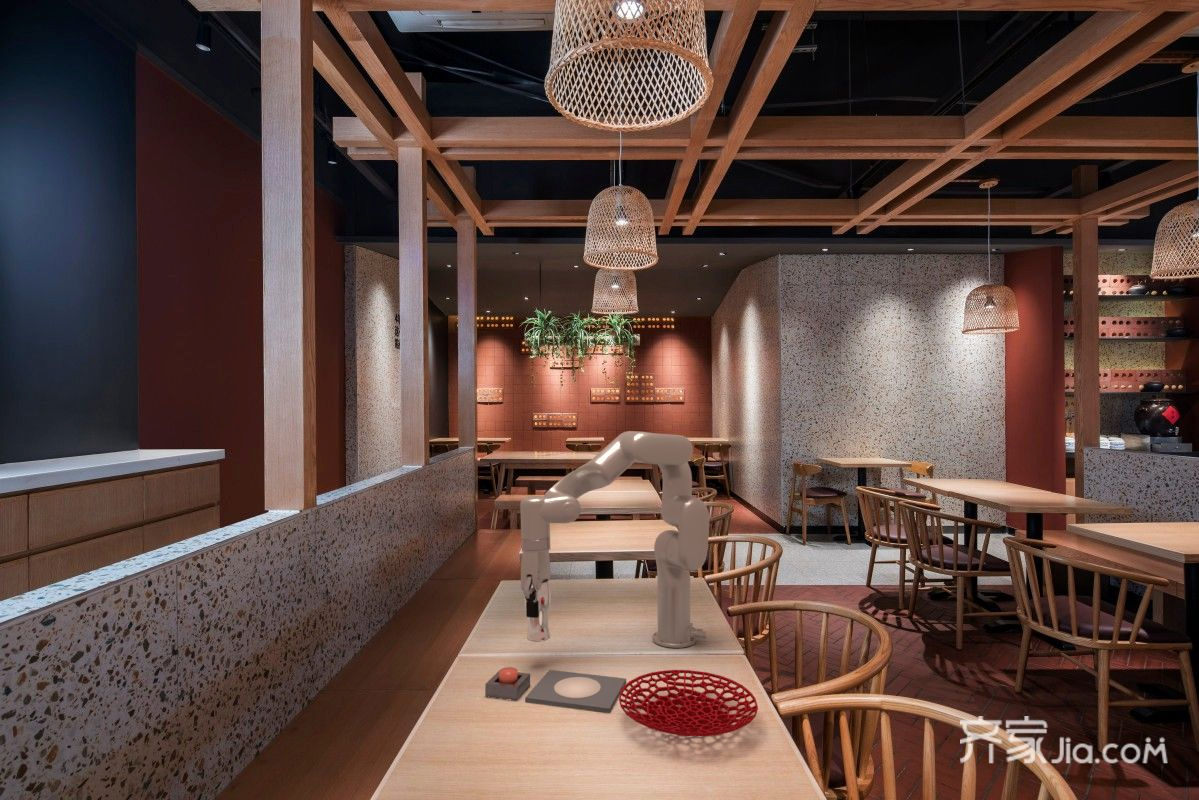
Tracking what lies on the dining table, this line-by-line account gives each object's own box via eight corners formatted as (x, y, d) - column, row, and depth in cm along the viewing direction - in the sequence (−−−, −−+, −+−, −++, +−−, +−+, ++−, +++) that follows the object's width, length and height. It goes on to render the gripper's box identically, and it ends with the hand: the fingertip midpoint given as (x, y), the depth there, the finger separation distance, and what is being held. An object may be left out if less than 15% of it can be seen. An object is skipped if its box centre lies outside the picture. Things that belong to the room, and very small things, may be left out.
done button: (520, 680, 149) (520, 668, 149) (513, 688, 145) (513, 675, 145) (503, 678, 150) (503, 666, 151) (495, 686, 146) (495, 673, 146)
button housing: (530, 686, 151) (530, 673, 151) (517, 700, 143) (517, 687, 143) (499, 682, 153) (499, 670, 153) (485, 696, 145) (485, 683, 145)
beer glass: (547, 643, 158) (545, 584, 158) (521, 642, 160) (519, 583, 160) (555, 633, 165) (553, 576, 165) (530, 632, 167) (528, 576, 167)
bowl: (668, 775, 113) (668, 748, 113) (595, 707, 140) (595, 685, 140) (788, 736, 127) (788, 712, 127) (701, 681, 153) (701, 661, 153)
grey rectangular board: (626, 682, 152) (626, 677, 152) (609, 713, 137) (609, 707, 137) (549, 673, 158) (549, 668, 158) (525, 702, 142) (525, 696, 142)
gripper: (534, 536, 172) (536, 601, 172) (509, 551, 155) (511, 623, 155) (560, 537, 170) (562, 602, 170) (537, 552, 153) (539, 625, 153)
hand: (537, 611), depth 162 cm, fingers closed on beer glass, 6 cm apart
